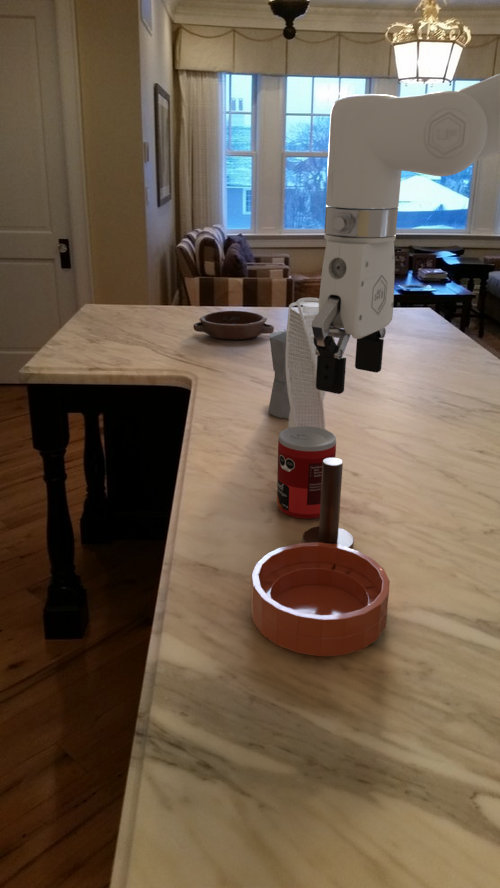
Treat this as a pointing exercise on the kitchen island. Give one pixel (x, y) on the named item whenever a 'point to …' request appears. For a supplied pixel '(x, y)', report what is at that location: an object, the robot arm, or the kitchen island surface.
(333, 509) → the brown coffee tamper
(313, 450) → the canned food
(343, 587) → the bowl
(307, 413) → the skyscraper
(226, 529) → the kitchen island surface
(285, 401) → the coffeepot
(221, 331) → the dish
